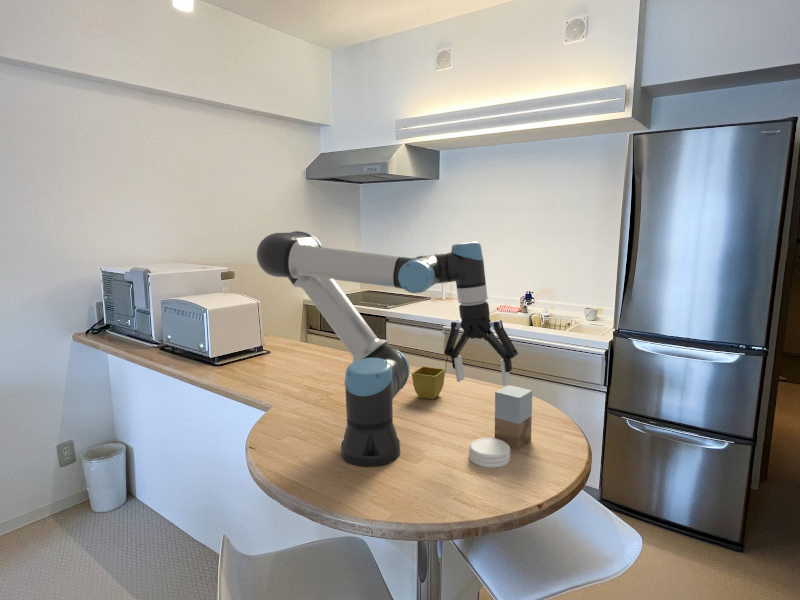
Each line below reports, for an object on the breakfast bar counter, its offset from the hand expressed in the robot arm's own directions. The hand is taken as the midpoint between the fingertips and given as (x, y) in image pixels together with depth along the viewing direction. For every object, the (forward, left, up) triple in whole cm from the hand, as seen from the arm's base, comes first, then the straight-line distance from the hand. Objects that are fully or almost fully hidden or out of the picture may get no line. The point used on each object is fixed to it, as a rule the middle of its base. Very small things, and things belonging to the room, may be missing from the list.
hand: (483, 382), depth 127 cm
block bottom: (+5, -6, -16) cm, 18 cm away
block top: (+5, -6, -9) cm, 12 cm away
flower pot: (+17, +32, -17) cm, 40 cm away
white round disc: (-7, -6, -17) cm, 19 cm away
